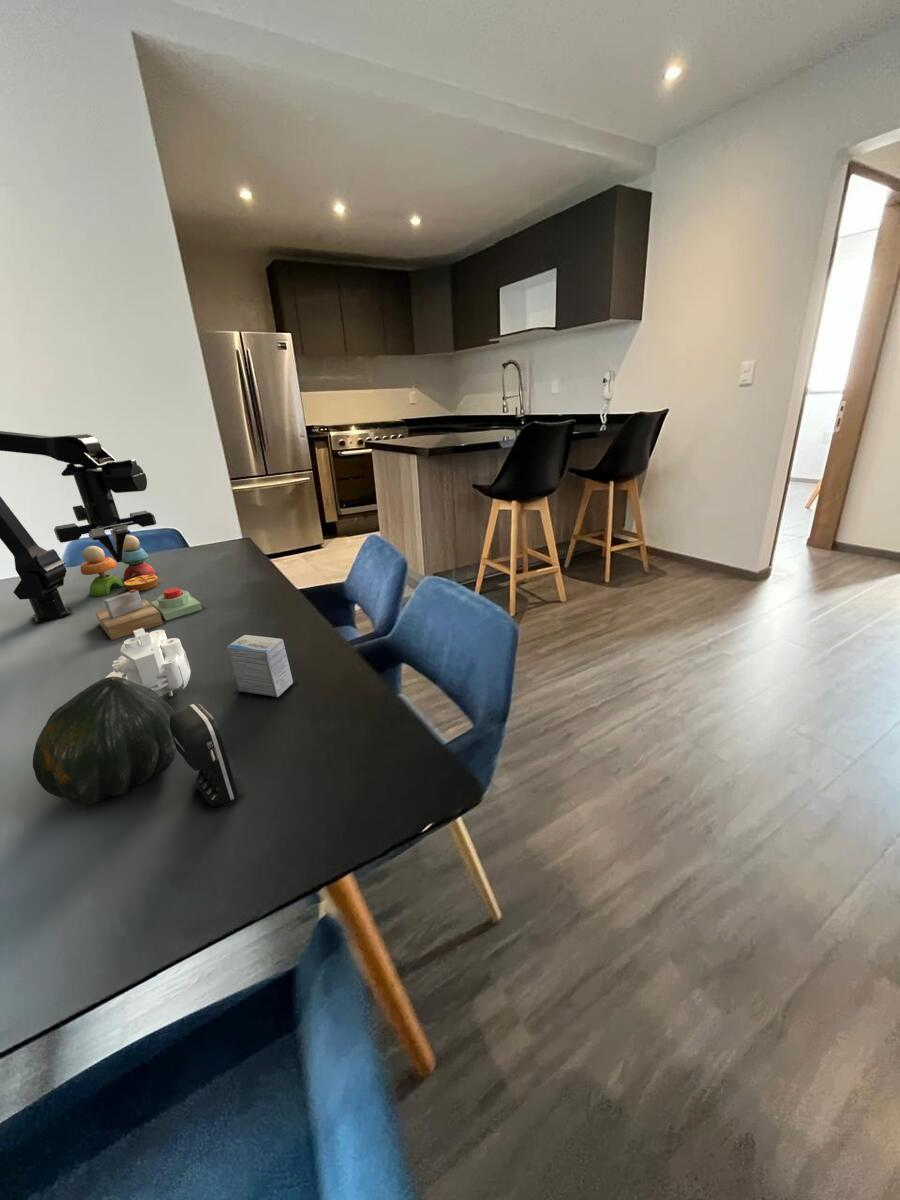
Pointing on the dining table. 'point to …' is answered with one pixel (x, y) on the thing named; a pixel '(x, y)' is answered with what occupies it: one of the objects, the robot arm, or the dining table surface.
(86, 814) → the dining table surface
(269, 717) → the dining table surface
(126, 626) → the block
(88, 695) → the squash
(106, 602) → the grey block
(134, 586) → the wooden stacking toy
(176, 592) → the button
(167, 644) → the mechanical part
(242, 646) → the medicine box
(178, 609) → the box
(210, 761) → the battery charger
